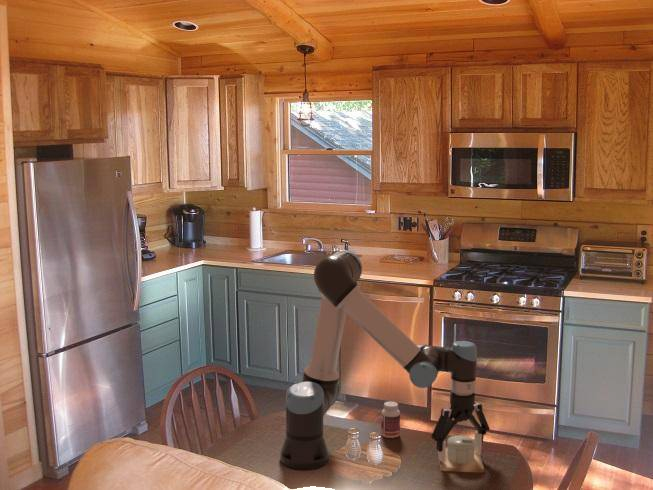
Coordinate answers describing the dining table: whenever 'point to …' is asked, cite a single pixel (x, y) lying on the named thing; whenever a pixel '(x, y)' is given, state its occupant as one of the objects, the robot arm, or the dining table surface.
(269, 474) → the dining table surface
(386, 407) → the pill bottle
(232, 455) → the dining table surface
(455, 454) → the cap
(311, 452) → the robot arm
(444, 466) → the stud board
